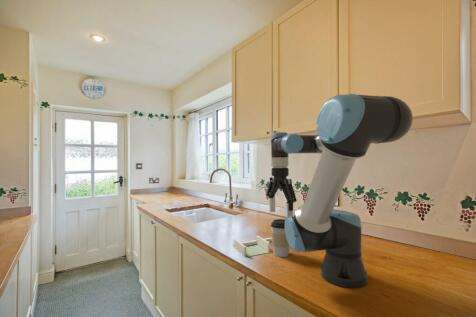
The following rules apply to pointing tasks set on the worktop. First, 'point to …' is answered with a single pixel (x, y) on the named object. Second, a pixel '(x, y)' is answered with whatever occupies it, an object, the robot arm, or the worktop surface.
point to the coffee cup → (279, 238)
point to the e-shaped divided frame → (259, 241)
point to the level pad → (255, 250)
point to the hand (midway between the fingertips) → (280, 215)
